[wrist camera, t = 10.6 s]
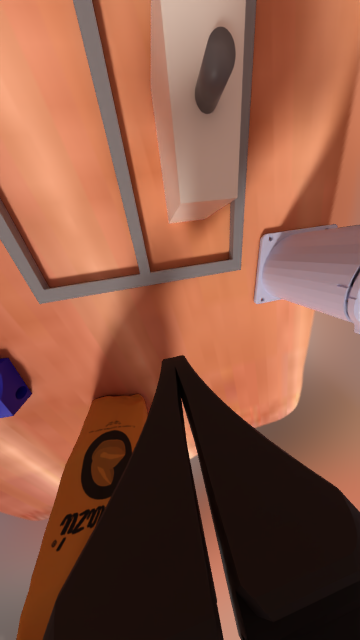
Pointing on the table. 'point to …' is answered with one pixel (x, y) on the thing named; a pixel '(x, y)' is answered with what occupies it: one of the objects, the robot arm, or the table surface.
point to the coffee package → (81, 501)
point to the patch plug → (197, 102)
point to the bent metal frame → (7, 232)
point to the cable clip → (11, 389)
